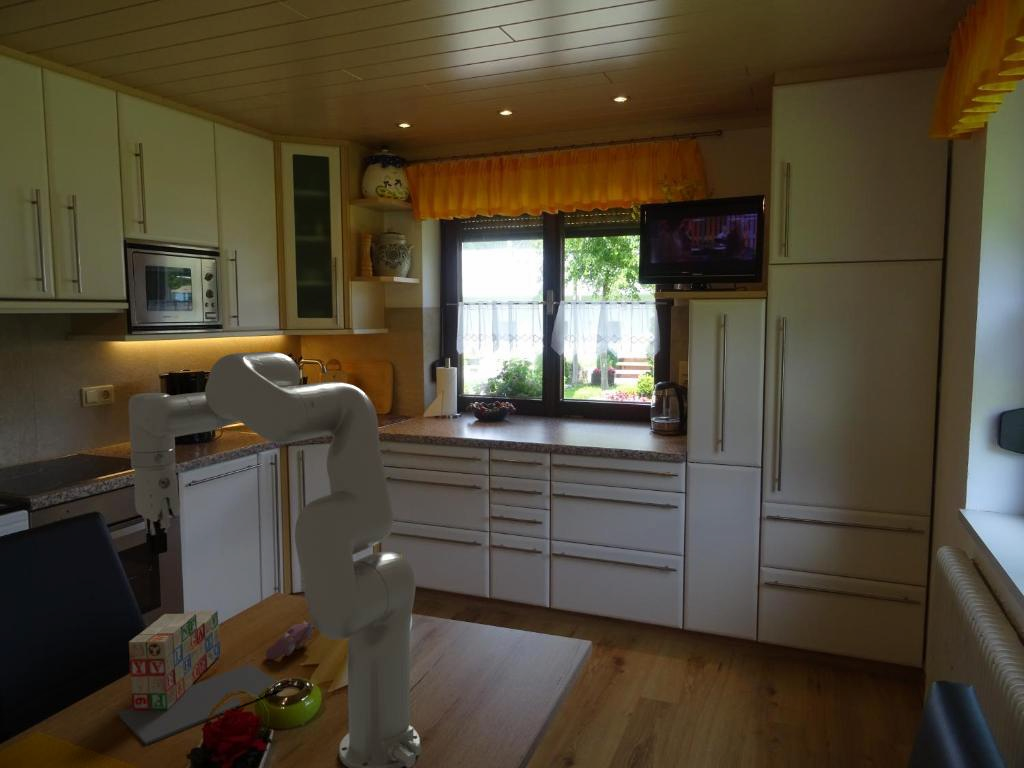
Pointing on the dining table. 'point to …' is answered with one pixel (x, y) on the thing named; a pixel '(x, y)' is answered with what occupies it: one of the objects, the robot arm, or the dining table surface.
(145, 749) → the dining table surface
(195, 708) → the mat
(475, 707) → the dining table surface
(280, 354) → the robot arm
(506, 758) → the dining table surface
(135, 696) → the stack of blocks
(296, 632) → the purple toy animal
